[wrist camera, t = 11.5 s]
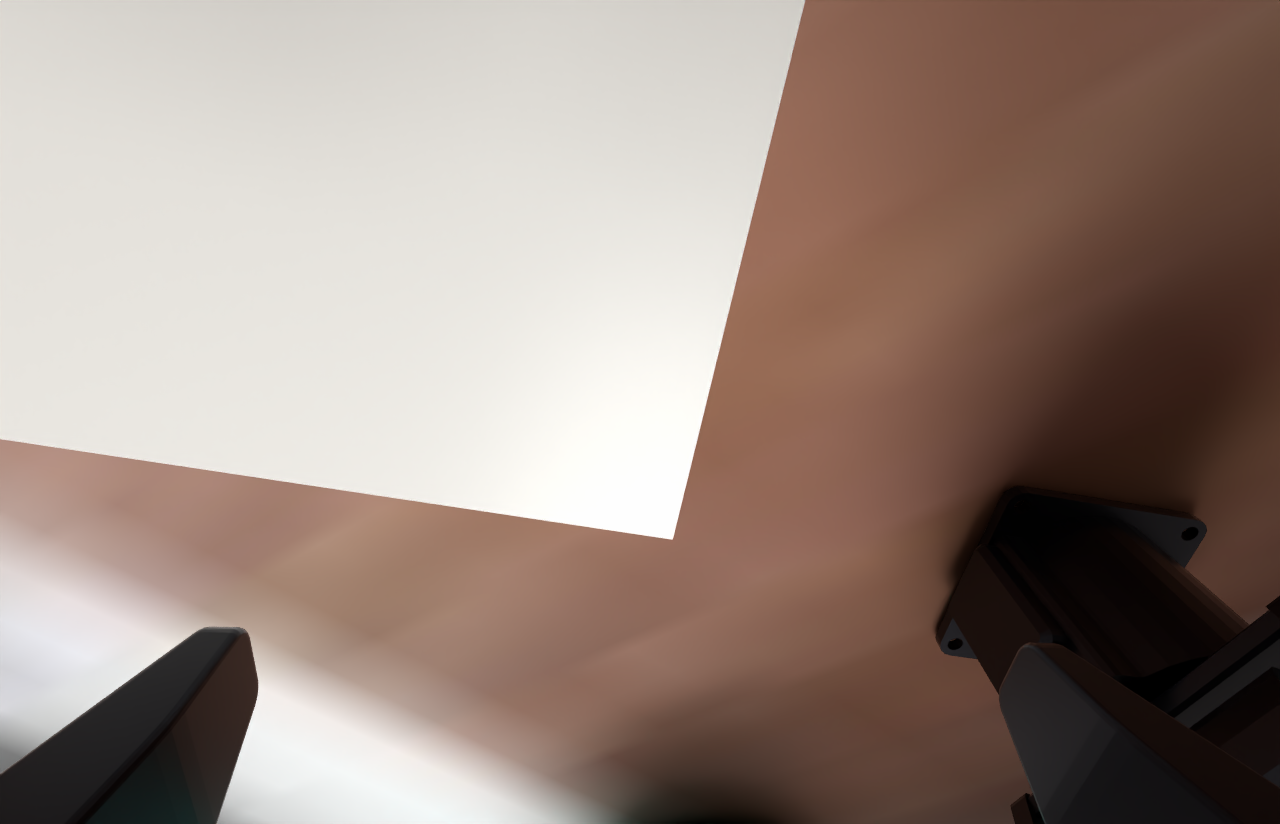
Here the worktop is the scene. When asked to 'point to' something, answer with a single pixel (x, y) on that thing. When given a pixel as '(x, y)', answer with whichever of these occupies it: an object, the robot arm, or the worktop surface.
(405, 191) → the white rectangular sheet
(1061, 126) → the worktop surface
